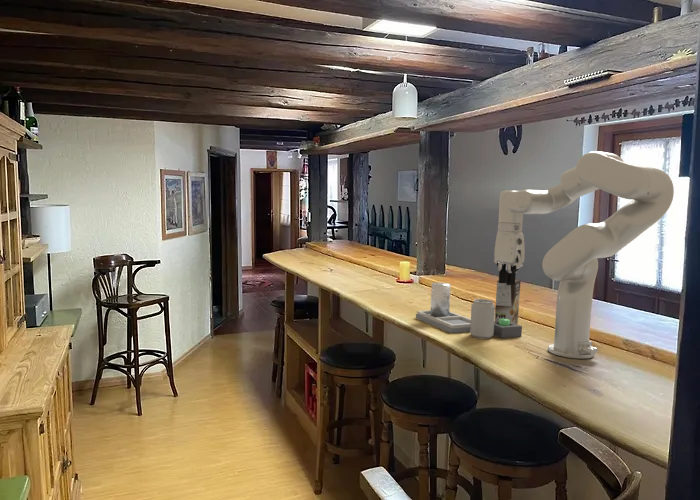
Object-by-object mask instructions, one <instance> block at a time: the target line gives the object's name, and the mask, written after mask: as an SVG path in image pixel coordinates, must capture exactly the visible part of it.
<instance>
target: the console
mask: <svg viewBox="0 0 700 500" xmlns="http://www.w3.org/2000/svg"><path fill="white" fill-rule="evenodd" d="M522 330H523V326H522V325H519V324H518V323H517V324H514V323H511V322H510V326H502V325H499V321H495V320H494V333H493V336H495V337H497V336H498V337H497V338H500V339H507V338H509V337H511V338H519V337H520V336H521V337H522V333H523V332H522Z"/></svg>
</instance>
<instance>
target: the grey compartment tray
mask: <svg viewBox="0 0 700 500" xmlns="http://www.w3.org/2000/svg"><path fill="white" fill-rule="evenodd" d="M430 312H431V309H430V310H418V311H416V314H415V319H417V320H419V321H421V322H423V323H424V322H425V323H426V324H429V325H431V326H433V327H436V328H438V329H440V330H443V331H445V332H448V333H449V334H458V333H470V324H471V318H469V317H466V316H463V315H461V314H458V313H456V312H453V311H450V310H449V317H433V316H431V315H430Z"/></svg>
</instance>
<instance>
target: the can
mask: <svg viewBox="0 0 700 500" xmlns="http://www.w3.org/2000/svg"><path fill="white" fill-rule="evenodd" d="M470 305H471V308H470V319H471V324H470V332H469V334H470V335H471V337H473V338H475V339H480V338H482V339H483V340H484V339H485V340H486V339H488V340H489V339H491V338H492V337H493V336H494V335H493V333H494V322H495V307H496V304H494V300H492V299H485V298H479V299H478V298H475V299H473V302H472V304H470ZM482 339H481V340H482Z"/></svg>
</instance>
